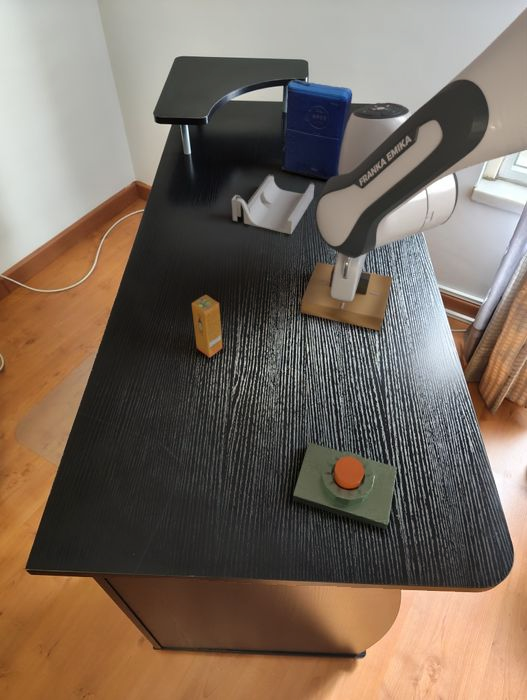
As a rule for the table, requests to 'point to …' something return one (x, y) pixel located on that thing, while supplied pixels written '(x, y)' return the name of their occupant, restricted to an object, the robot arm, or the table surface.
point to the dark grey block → (362, 282)
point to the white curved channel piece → (273, 207)
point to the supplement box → (207, 325)
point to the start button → (348, 472)
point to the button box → (327, 495)
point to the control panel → (356, 312)
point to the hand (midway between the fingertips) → (349, 284)
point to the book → (315, 128)
